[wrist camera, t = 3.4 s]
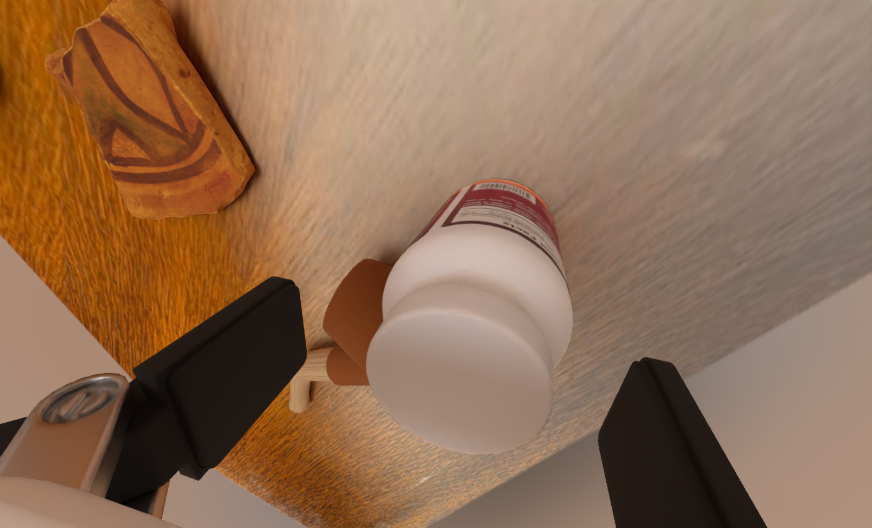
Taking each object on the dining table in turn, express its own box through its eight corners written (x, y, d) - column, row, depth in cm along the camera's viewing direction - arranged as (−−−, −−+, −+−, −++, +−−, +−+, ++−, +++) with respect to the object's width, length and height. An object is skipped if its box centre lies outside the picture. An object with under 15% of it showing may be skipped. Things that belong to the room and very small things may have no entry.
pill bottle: (470, 299, 20) (411, 484, 10) (418, 209, 18) (289, 328, 8) (575, 261, 17) (631, 464, 7) (525, 152, 15) (514, 231, 6)
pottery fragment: (108, -33, 14) (202, 203, 16) (213, 13, 18) (277, 195, 20) (9, 63, 17) (95, 242, 19) (114, 82, 22) (176, 229, 24)
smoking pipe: (481, 305, 20) (464, 374, 15) (349, 431, 29) (311, 501, 24) (387, 231, 19) (335, 277, 14) (283, 384, 28) (229, 444, 23)
